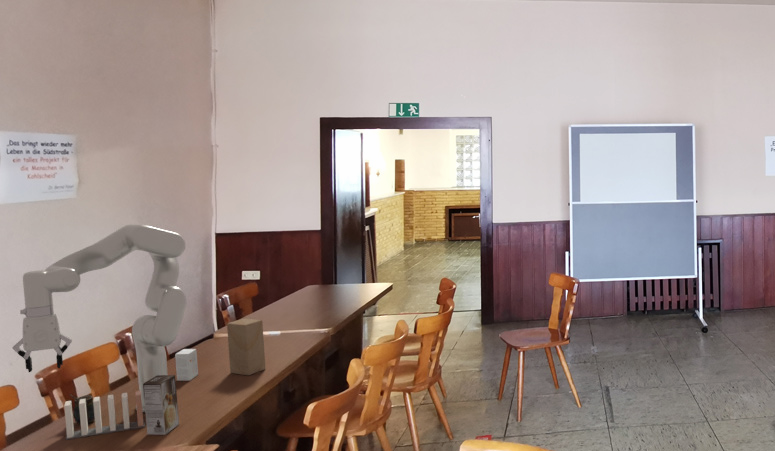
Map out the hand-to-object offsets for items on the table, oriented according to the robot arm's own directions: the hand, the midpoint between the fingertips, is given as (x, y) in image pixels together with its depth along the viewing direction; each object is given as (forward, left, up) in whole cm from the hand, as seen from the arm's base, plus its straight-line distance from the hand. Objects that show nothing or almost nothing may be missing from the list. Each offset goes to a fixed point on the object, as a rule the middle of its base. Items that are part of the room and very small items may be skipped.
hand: (44, 368), depth 219 cm
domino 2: (0, +10, -22) cm, 24 cm away
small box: (-49, +44, -22) cm, 70 cm away
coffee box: (+8, +33, -22) cm, 40 cm away
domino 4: (0, +18, -22) cm, 28 cm away
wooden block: (-46, +67, -22) cm, 84 cm away
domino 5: (0, +22, -22) cm, 31 cm away
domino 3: (0, +14, -22) cm, 26 cm away
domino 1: (0, +6, -22) cm, 22 cm away
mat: (0, +16, -22) cm, 27 cm away
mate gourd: (-12, +9, -22) cm, 27 cm away
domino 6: (0, +26, -22) cm, 34 cm away
